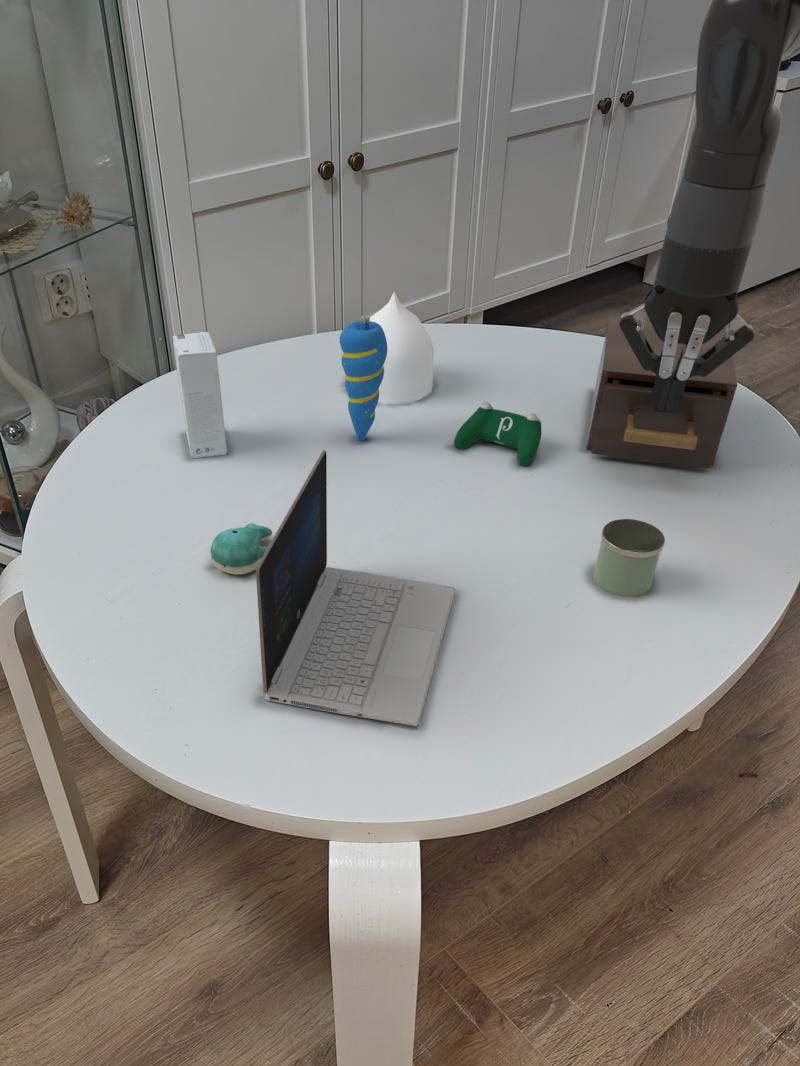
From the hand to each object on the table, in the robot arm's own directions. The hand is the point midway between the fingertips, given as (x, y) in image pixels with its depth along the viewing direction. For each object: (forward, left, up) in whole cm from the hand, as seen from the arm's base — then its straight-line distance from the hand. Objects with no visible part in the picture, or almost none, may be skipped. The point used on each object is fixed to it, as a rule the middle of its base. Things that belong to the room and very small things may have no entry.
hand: (663, 409), depth 93 cm
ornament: (+32, 0, -8) cm, 33 cm away
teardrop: (+32, -15, -8) cm, 36 cm away
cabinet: (0, -12, -8) cm, 14 cm away
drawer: (0, -6, -7) cm, 9 cm away
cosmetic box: (+49, +6, -8) cm, 50 cm away
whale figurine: (+37, +26, -8) cm, 46 cm away
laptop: (+23, +36, -8) cm, 43 cm away
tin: (+2, +20, -8) cm, 22 cm away
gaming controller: (+16, -2, -8) cm, 18 cm away
